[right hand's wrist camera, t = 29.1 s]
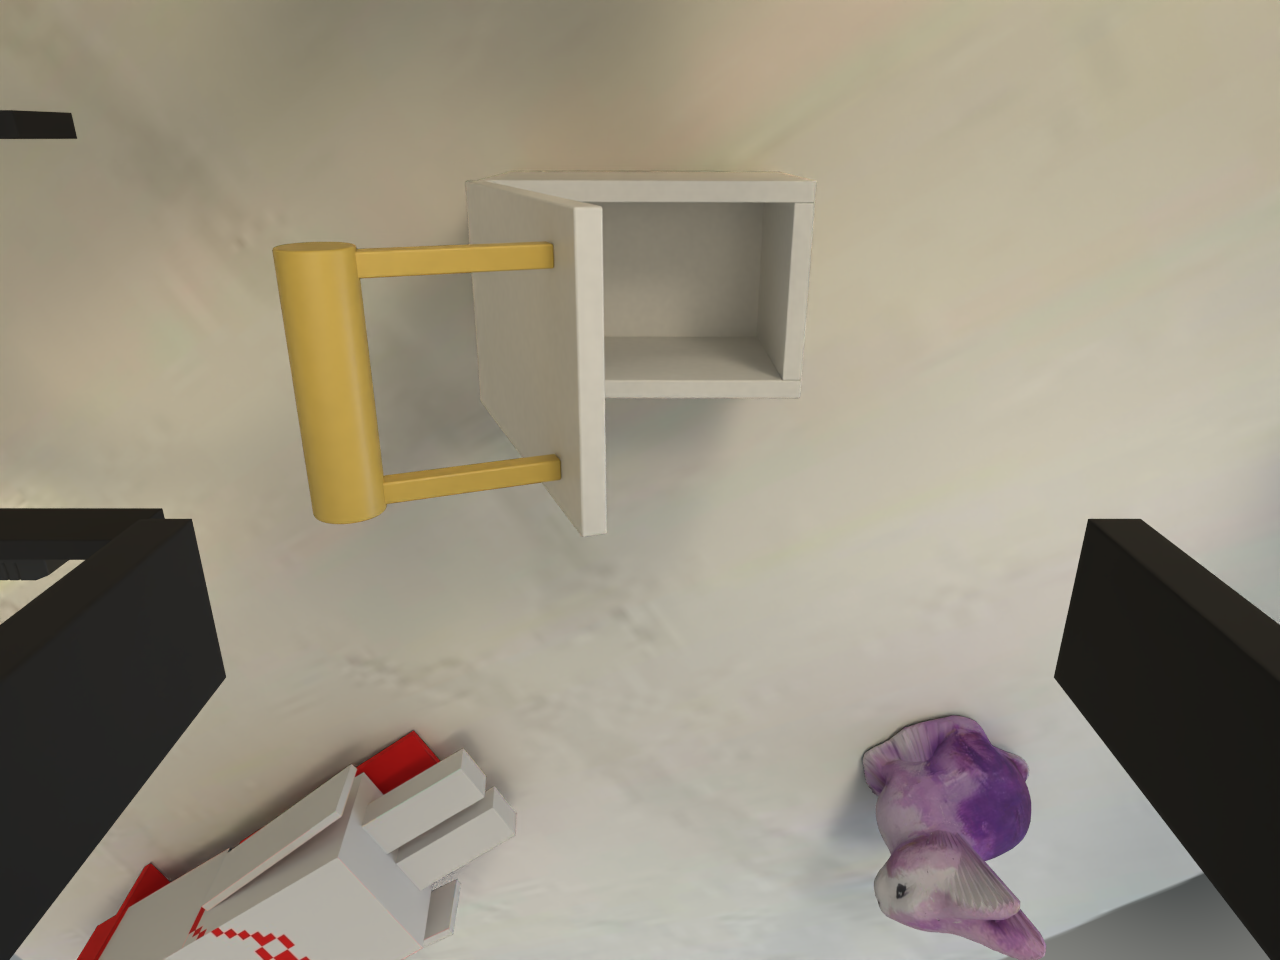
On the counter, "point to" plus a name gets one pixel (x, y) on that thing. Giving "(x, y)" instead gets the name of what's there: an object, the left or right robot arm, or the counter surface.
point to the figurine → (951, 833)
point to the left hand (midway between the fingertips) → (101, 347)
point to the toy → (326, 871)
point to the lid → (506, 349)
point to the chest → (697, 278)
